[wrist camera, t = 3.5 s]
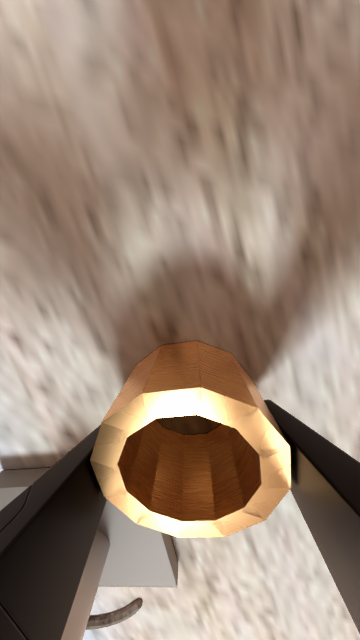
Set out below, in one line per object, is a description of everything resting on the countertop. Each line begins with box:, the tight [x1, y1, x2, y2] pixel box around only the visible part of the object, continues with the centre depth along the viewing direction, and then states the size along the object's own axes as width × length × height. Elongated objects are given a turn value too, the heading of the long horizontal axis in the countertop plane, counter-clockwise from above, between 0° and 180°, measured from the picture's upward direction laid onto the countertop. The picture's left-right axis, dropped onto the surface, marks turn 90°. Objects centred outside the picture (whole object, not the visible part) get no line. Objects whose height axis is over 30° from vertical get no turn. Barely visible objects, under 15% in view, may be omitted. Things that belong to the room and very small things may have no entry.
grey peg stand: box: [0, 468, 178, 640], centre depth 9 cm, size 10×10×6 cm
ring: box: [90, 341, 291, 538], centre depth 7 cm, size 6×6×4 cm
